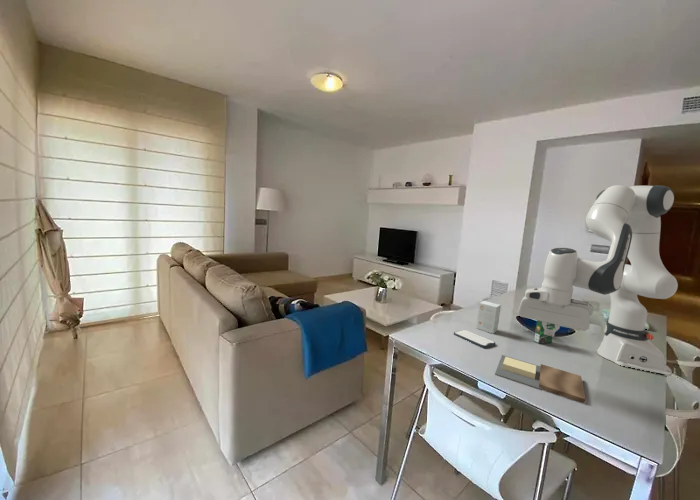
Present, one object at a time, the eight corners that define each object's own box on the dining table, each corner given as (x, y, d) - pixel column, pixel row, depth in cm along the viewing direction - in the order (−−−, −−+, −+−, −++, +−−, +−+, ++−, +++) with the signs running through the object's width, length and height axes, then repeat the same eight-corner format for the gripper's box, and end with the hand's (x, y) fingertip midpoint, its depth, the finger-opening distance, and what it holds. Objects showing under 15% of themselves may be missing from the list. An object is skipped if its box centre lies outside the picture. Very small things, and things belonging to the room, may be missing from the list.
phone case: (452, 335, 139) (484, 350, 126) (452, 332, 139) (484, 346, 125) (464, 332, 144) (496, 346, 131) (464, 329, 144) (496, 342, 130)
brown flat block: (580, 379, 107) (581, 375, 107) (584, 403, 93) (585, 399, 92) (540, 367, 113) (540, 364, 113) (538, 388, 99) (539, 384, 99)
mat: (543, 368, 113) (543, 367, 113) (542, 390, 98) (542, 389, 98) (501, 355, 121) (502, 354, 121) (494, 374, 106) (495, 373, 106)
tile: (535, 370, 110) (536, 365, 110) (534, 379, 104) (535, 373, 104) (504, 361, 115) (505, 356, 115) (502, 368, 109) (503, 363, 109)
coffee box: (538, 344, 135) (543, 315, 133) (532, 341, 138) (537, 313, 136) (552, 343, 138) (557, 315, 136) (546, 340, 140) (551, 313, 139)
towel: (638, 321, 183) (640, 313, 182) (648, 331, 165) (650, 322, 164) (600, 313, 192) (601, 305, 192) (605, 322, 175) (607, 314, 174)
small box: (497, 330, 147) (501, 304, 145) (492, 334, 143) (497, 307, 141) (480, 325, 153) (484, 300, 151) (475, 328, 148) (479, 302, 146)
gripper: (593, 300, 100) (585, 340, 102) (522, 288, 111) (516, 324, 113) (595, 305, 95) (587, 347, 96) (520, 291, 105) (515, 329, 107)
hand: (548, 335), depth 105 cm, fingers closed
